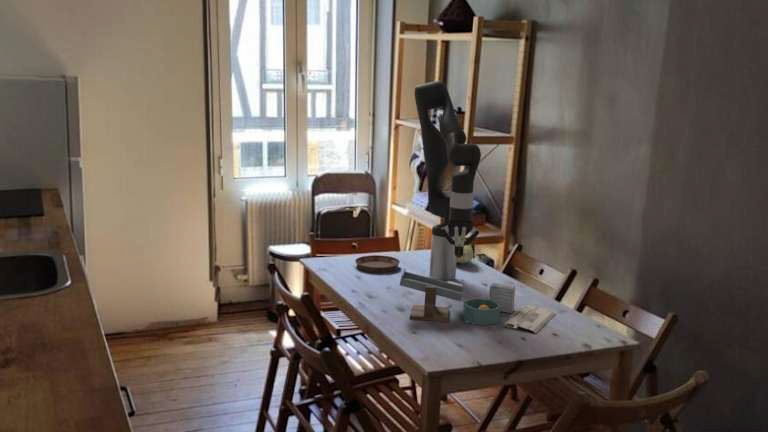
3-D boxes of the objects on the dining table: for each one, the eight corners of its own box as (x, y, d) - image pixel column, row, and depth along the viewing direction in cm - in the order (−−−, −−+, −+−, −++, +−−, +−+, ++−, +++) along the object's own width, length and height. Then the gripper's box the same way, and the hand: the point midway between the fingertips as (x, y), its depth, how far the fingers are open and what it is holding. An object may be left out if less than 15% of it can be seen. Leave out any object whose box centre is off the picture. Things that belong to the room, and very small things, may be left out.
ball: (482, 318, 230) (486, 307, 231) (489, 320, 227) (494, 308, 228) (473, 313, 229) (478, 302, 230) (480, 314, 225) (485, 303, 226)
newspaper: (519, 308, 242) (521, 301, 241) (554, 319, 236) (556, 312, 236) (496, 327, 222) (497, 320, 221) (533, 340, 217) (535, 332, 216)
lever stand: (412, 307, 236) (414, 275, 234) (448, 310, 235) (450, 278, 233) (409, 319, 225) (411, 285, 223) (447, 322, 224) (449, 288, 222)
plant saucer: (348, 271, 276) (348, 263, 275) (363, 260, 292) (363, 252, 292) (392, 276, 271) (392, 269, 270) (404, 265, 288) (404, 257, 287)
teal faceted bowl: (478, 310, 236) (479, 296, 235) (506, 320, 227) (507, 305, 226) (455, 317, 229) (456, 302, 228) (482, 327, 220) (484, 312, 219)
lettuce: (455, 270, 282) (456, 242, 280) (433, 256, 301) (434, 230, 299) (480, 268, 286) (482, 241, 284) (457, 255, 305) (459, 229, 303)
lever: (403, 276, 240) (406, 262, 239) (460, 291, 239) (464, 277, 238) (398, 290, 225) (401, 275, 224) (459, 306, 224) (463, 291, 223)
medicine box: (513, 310, 238) (515, 285, 236) (511, 314, 234) (513, 289, 232) (490, 306, 240) (492, 282, 239) (487, 310, 236) (489, 285, 235)
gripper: (440, 206, 227) (438, 258, 230) (482, 208, 225) (479, 261, 229) (441, 202, 234) (439, 252, 238) (481, 204, 233) (478, 254, 236)
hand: (458, 256), depth 233 cm, fingers closed
